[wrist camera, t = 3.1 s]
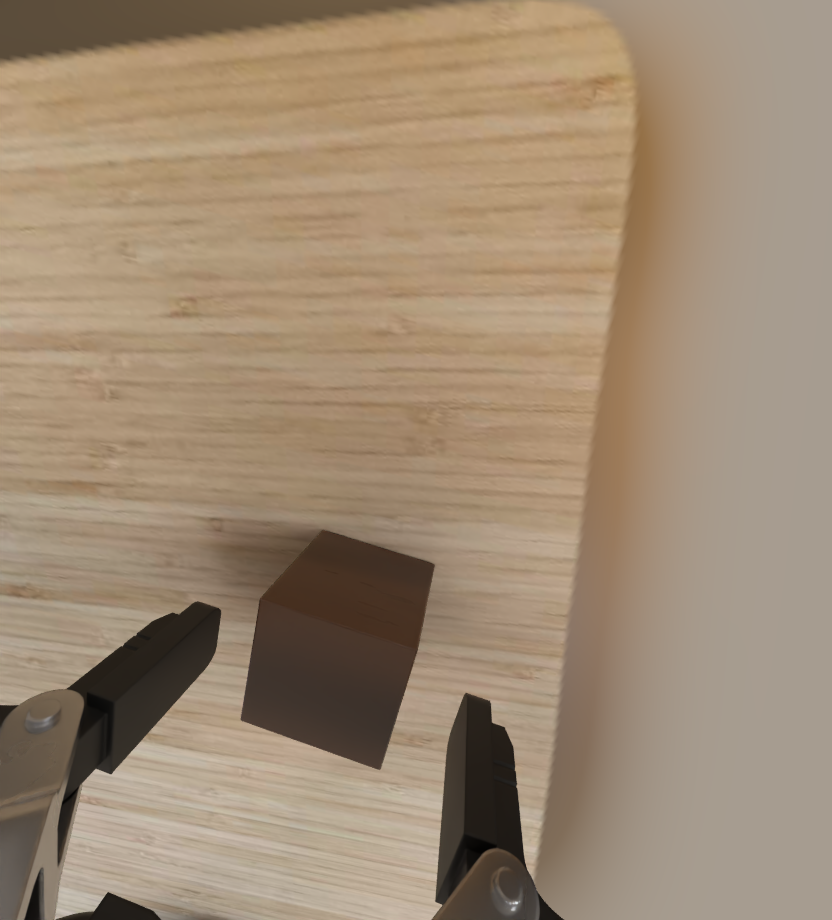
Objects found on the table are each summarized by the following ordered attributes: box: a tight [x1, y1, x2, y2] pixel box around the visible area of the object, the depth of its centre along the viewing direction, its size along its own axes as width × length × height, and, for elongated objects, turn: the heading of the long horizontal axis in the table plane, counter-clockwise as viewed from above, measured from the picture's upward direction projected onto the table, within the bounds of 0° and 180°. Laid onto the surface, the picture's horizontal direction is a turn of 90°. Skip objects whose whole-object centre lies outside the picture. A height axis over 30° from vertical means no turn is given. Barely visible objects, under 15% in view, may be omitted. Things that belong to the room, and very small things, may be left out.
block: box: [241, 530, 435, 770], centre depth 13 cm, size 4×4×4 cm
